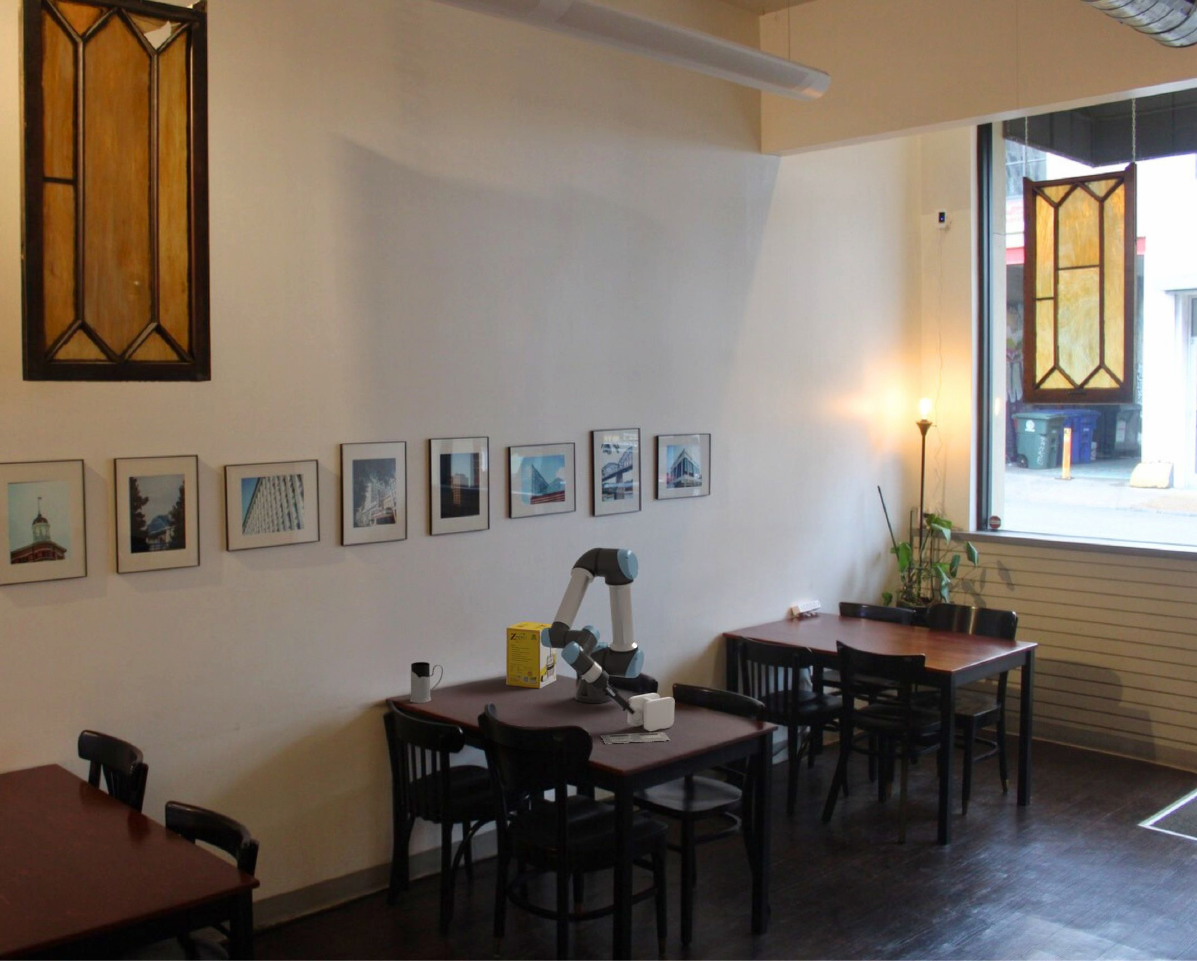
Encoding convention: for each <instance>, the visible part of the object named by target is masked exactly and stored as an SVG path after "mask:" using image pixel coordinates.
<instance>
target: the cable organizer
mask: <svg viewBox="0 0 1197 961" xmlns="http://www.w3.org/2000/svg"><path fill="white" fill-rule="evenodd" d="M627 701H628V702H629V704H630V705H631V706H632V707H633V708H634V709H635V710H636V711H637V712H638V713H640V714H641V716H642V717H641V718H640V719H639V720H638V721H636V720H635V719H634V718H633V717H632V716H631V715H630V714H629V713H628V712H627V719H626V720H627V724H628V725H629V726H632V727H640V726H642V725H643V729H644V730H646V731H649V733H652V732H654V731H657V730H659V729H661V730H662V729H663V730H665V729H668V728H670V727H672V726H673V725H674V723H675V698H673V697H671V696H666V697H661V696H660V695H659V693H656V692H651V693H650V692H649V693H644V694H640V695H634V696H631V697H629V699H627Z"/></svg>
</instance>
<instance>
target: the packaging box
mask: <svg viewBox="0 0 1197 961" xmlns="http://www.w3.org/2000/svg"><path fill="white" fill-rule="evenodd" d="M551 625H552V623H546V622H533V621H521V622H519V623H515V624H513V625H511V626H508V627H506V632H505V635H506V638H505V639H506V643H505V644H506V657H505V658H506V659H505V660H506V662H505V663H506V664H505V665H506V685H507V686H516V687H523V688H524V687H525V688H532V689H542V688H543V687H544V688H545V687H546V686H547V685H549V684H551V683H554V682H556V681H557V648H549V647H544V646H543V645H542V643H541V632H542V630H543V629H544V628H548V627H551Z"/></svg>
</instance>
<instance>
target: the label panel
mask: <svg viewBox="0 0 1197 961" xmlns="http://www.w3.org/2000/svg"><path fill="white" fill-rule="evenodd" d="M599 737H600V739H601V738H602V739H603V740H602V739H601V740H602V742H603V741H604V742H603V743H605V744H604V745H613V744H612V743H624V744H630V743H629V742H644V743H655V742H654V741H664V742H667V741H666V740H669V741H668V742H671V739H670V737H669V736H668V735H667V734H666V732H665V731H661V732H659V731H658V732H657V731H656V732H654V731H652V732H637V733H636V732H635V733H617V734H600V735H599ZM652 741H653V742H652ZM606 743H608V744H606Z"/></svg>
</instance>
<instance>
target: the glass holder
mask: <svg viewBox="0 0 1197 961" xmlns="http://www.w3.org/2000/svg"><path fill="white" fill-rule="evenodd" d="M430 667H431V666H430V663H429V662H426V661H417V662H413V663H411V665H410V699H409V701H410V702H411V703H414V704H415V703H416V704H422V703H429V702H430V701H432V698H431V693H432V692H433V690H434V689H436V687H437V686H438V685H439V684H440V682H441V680H442V678H443V674H444V673H443V672H444V669H443V666H441V665H440V664H436V665H434V666H433V667H432V671H431V670H430ZM436 667H441V668H440V669H441V675H440V678H439V680H438V681H437V683H436V684H435V685H434V686H433V687H432V688H431V677H432V676H434V675H435V673H434V672H435V668H436ZM430 672H431V673H432V674H430Z"/></svg>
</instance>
